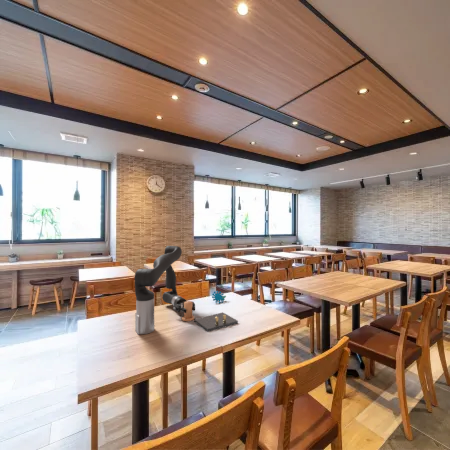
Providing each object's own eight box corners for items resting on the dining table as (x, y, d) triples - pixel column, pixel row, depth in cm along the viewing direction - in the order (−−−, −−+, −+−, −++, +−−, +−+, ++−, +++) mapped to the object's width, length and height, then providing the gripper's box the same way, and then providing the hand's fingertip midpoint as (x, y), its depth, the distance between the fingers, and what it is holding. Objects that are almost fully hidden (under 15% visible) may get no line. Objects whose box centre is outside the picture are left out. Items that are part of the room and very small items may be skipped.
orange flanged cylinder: (185, 322, 141) (184, 305, 141) (179, 318, 147) (179, 301, 147) (196, 319, 145) (196, 302, 145) (191, 315, 152) (191, 299, 152)
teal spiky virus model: (213, 302, 172) (211, 290, 179) (210, 306, 175) (209, 294, 182) (227, 302, 176) (225, 290, 183) (224, 306, 179) (222, 294, 186)
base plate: (207, 331, 128) (207, 321, 128) (194, 321, 142) (194, 312, 142) (237, 323, 139) (237, 313, 139) (222, 314, 153) (222, 306, 153)
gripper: (168, 298, 154) (178, 306, 140) (189, 295, 162) (200, 301, 148) (168, 310, 154) (178, 319, 140) (189, 306, 162) (200, 314, 148)
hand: (190, 310), depth 144 cm, fingers closed on orange flanged cylinder, 5 cm apart
